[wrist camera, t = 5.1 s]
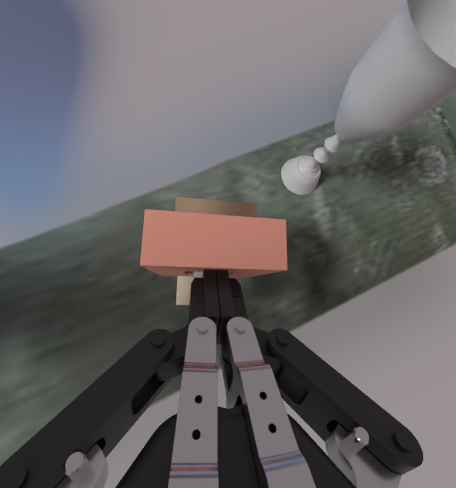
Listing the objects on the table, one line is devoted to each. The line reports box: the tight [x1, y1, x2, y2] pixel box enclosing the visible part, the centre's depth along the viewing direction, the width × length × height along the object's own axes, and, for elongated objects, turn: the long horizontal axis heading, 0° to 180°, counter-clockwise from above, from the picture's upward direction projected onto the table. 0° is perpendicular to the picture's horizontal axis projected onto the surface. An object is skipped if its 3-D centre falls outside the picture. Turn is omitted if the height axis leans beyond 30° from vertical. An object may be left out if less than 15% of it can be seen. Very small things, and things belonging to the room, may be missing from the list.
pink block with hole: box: [140, 209, 287, 278], centre depth 18 cm, size 8×3×10 cm, turn 89°
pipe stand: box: [175, 197, 257, 305], centre depth 19 cm, size 5×7×12 cm
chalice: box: [281, 0, 456, 195], centre depth 21 cm, size 7×7×18 cm
